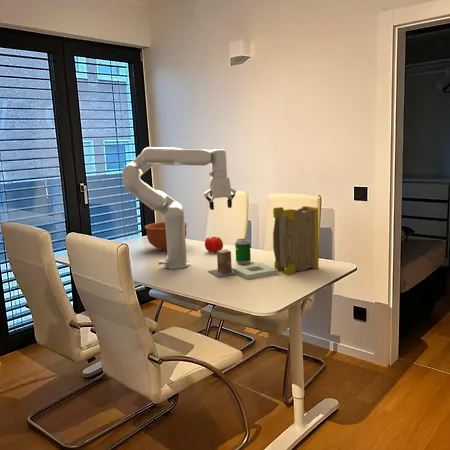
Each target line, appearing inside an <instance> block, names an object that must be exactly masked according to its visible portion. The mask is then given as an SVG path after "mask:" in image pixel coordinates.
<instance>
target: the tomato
mask: <svg viewBox="0 0 450 450" xmlns="http://www.w3.org/2000/svg"><path fill="white" fill-rule="evenodd" d="M204 247H205V249H206V251H207V252H209V253H210V254H217V251H220V250H223V248H224V242H223V240H222V238H221V237H219V236H212V237H211V236H210V237H207V238H205V240H204Z"/></svg>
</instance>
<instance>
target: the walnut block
mask: <svg viewBox="0 0 450 450" xmlns="http://www.w3.org/2000/svg"><path fill="white" fill-rule="evenodd" d="M216 258H217V269H218V272H220V273H222V274H224V273H230V272H232V268H233V267H232V265H233V264H232V251H231V250H229V249H222V250H220V251H217V253H216Z"/></svg>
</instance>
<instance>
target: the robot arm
mask: <svg viewBox="0 0 450 450" xmlns="http://www.w3.org/2000/svg"><path fill="white" fill-rule="evenodd" d="M154 165H156V166H208V165H211V172H209V175H208V176H211V177H210V182H209V189H208V190H206V191H205V192H204V193H203V195H204V197H205V199H206V200H207V201H208V203H209V209H210V210H211V211H213V210H214V209H215V204H214V203H215V202H214V199H220V198H227V200H226V201H227V202H226V203H227V208H229V209H232V206H233V200H234V198H235V197H236V193H237V190H235V189H233V188H231V187H232V186H231V180H230V177H229V176H228V168H227V167H228V166H227V151H226V149H222V148H220V149H190V148H189V149H185V148H179V147H160V146H159V147H158V146H157V147H156V146H154V147H153V146H151V147H150V146H147V147H145V148H144V149H143V150H142V151H141V153H139V155H137V157H135V158H134V159H133V160H132V161H131V162H130V163H127V164H126V165H125V166H124V167H123V169H122V172H121V174H122V175H121V178H122V179H121V180H122V184H123V186H124V188H125V190H127V192H128V193H130V194H131V195H132V196H134V197H135V198H136V199H137V200H139V201H140V203H141V202H142V204H144V205H146V206H147V207H148V208H150V209H151V210H152V211H158V212H159V213H161V214H162V215H164V222H165V228H166V241H167V251H166V253H167V254H166V255H167V256H166V257H165V258H164V259H163V260H158V265H164V267H165V268H166V269H168V268H169V270H180V269H186V268H189V267H190V266H191V263H190V261H187V247H186V246H187V245H186V239H185V226H184V222H185V210H184V207H183V206H182V204H180V203H179V201H176V200H175V199H174V198H172V197H171V196H170V195H168V194H166V193H165V192H164V191H162V190H159V189H154V188H153V187H151V186H150V185H149V184H148V183H146V182H144V181H143V180H142V178H141V177H142V176H143V175H144V174H145V173H147V171H148V170H150V169H151V168H152V167H153V166H154Z"/></svg>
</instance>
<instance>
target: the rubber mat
mask: <svg viewBox="0 0 450 450" xmlns="http://www.w3.org/2000/svg"><path fill="white" fill-rule="evenodd" d="M233 268H234V267H232V272H230V273H224V274H222V273H220V272H218V268H216V269H211V270H208V271H207V272H208V273H209V274H211V275H213V276H215V277H216V278H217V279H221V278H227V277H231V276H233V277H234V276H237V275H238V273H236V272H235V271H233ZM238 276H239V275H238Z"/></svg>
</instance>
